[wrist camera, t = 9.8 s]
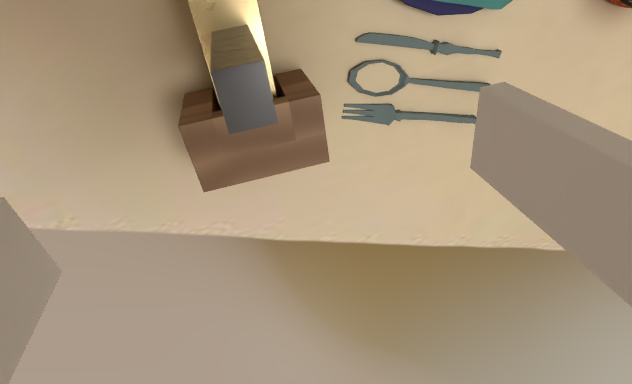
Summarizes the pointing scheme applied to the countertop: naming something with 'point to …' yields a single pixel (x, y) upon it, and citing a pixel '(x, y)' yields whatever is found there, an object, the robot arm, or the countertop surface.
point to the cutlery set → (437, 3)
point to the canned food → (622, 3)
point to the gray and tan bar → (237, 61)
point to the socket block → (255, 135)
